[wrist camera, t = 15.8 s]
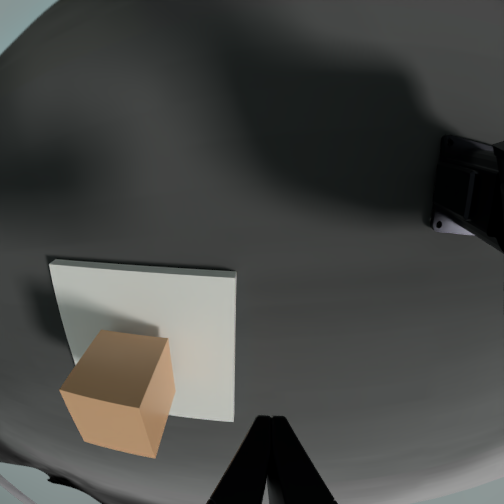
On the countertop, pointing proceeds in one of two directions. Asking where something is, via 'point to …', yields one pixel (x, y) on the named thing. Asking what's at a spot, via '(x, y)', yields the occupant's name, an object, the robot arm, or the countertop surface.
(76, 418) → the tan wooden brick
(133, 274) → the post stand
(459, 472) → the countertop surface
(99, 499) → the countertop surface
